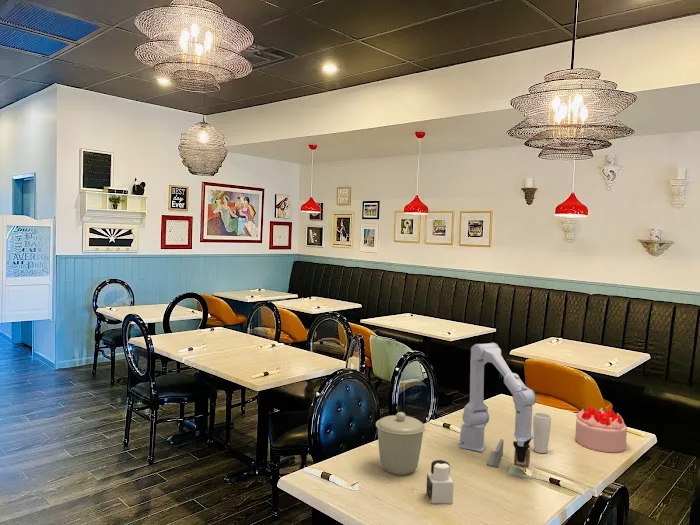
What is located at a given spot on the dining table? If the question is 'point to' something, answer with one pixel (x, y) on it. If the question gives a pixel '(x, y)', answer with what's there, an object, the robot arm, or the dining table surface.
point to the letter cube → (526, 461)
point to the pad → (518, 472)
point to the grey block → (496, 455)
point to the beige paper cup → (541, 431)
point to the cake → (601, 430)
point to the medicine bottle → (440, 483)
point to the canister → (399, 443)
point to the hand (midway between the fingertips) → (521, 459)
